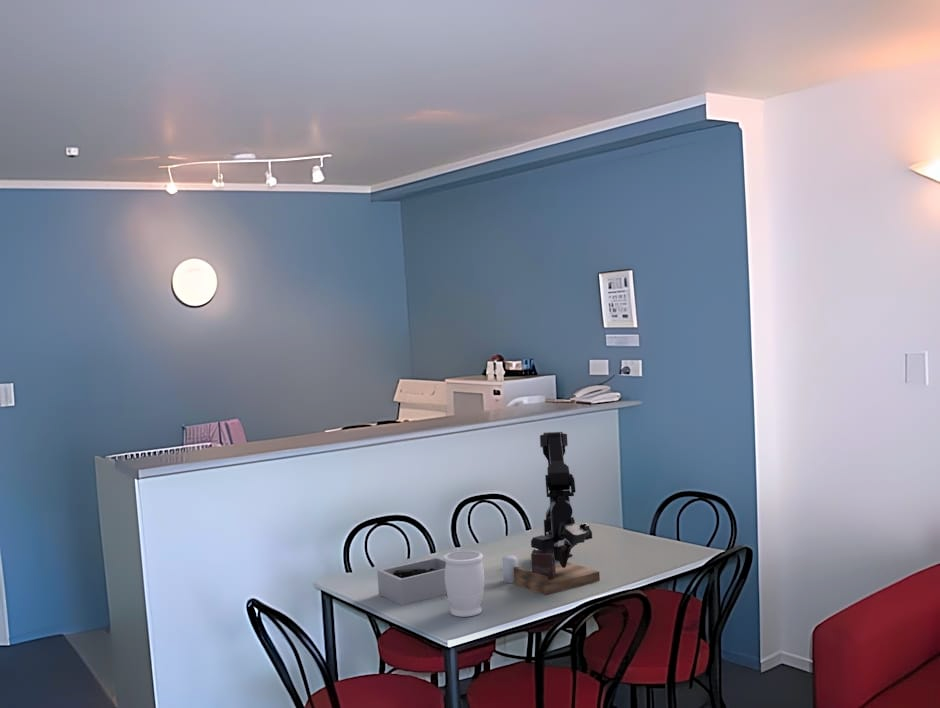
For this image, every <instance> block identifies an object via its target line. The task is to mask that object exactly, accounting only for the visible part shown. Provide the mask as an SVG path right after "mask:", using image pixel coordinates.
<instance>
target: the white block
mask: <svg viewBox="0 0 940 708" xmlns="http://www.w3.org/2000/svg"><path fill="white" fill-rule="evenodd" d="M501 561H502V563H501V564H502V579H503V580H502V581H503V583H504V584H514V567H516V566H517V567H519V565H518V561H519V560H518V556H517V555H512V554H511V555H510V554H508V555H503V556H502V559H501Z"/></svg>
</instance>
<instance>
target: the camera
mask: <svg viewBox="0 0 940 708" xmlns="http://www.w3.org/2000/svg"><path fill="white" fill-rule="evenodd" d="M436 570H439V569H435V570H434V568H430V569H429V570H426V569H421V568H420V569H407V570H396V571H395V572H394V573H393V575H394V576H397V577H399V578H406V577H410V576H415V575H419V574H423V573H428V572H432V571H436Z"/></svg>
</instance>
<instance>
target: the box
mask: <svg viewBox="0 0 940 708" xmlns="http://www.w3.org/2000/svg"><path fill="white" fill-rule="evenodd" d="M530 558H531V559H530V560H531V561H530V562H531V571H532V572H536V573H539V574H542V575H545V576H548V579H554V577H555V574H556V572H555V565H556V559H555V557H554V549H549V550H539V549H536V548H533V549H532V552H531V554H530Z"/></svg>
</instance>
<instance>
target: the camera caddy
mask: <svg viewBox="0 0 940 708" xmlns="http://www.w3.org/2000/svg"><path fill="white" fill-rule="evenodd" d="M445 566H446V562H445V561H444V558H441V557H439V556H434V557H431V558H425V559H422V560H417V561H413V562H409V563H405V564H399V565H395V566H390V567H386V568H382V569H377V570H376V571H377V586H378V588H377V589H378V595H379V596H380V597H382V598H385V599H387V600H389V601H391V602H392V603H395V604H398V605H399V606H401V607H403V606H406V605H409V604H414V603H417V602H422V601H427V600H429V599H430V600H431V599H433V598H437V597H441V596H446V595H447V590H446V586H445ZM420 568H421V569H426V570H429V569H430V568H434V570H435V569H439V570H436V571H432V572H428V573H423V574H419V575H415V576H410V577H406V578H399V577H397V576H394V575H393V573H394V572H395V571H396V570H407V569H420Z"/></svg>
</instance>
